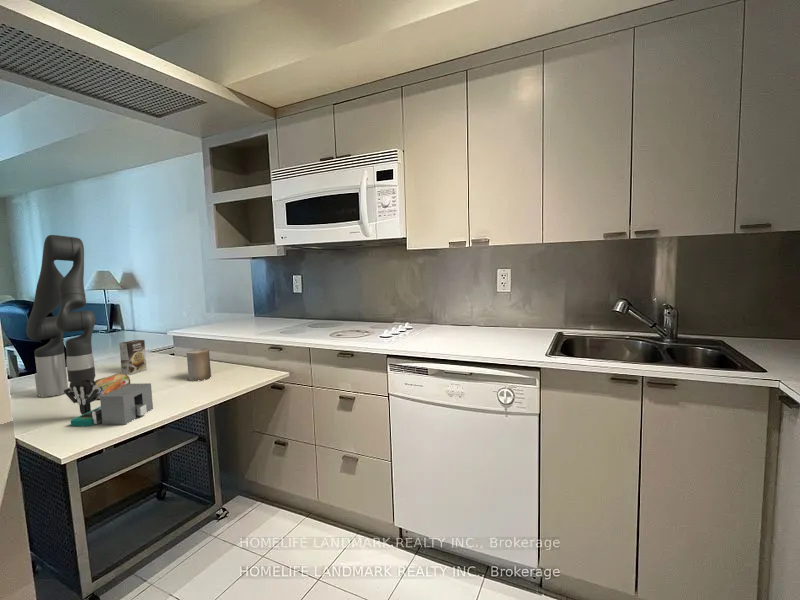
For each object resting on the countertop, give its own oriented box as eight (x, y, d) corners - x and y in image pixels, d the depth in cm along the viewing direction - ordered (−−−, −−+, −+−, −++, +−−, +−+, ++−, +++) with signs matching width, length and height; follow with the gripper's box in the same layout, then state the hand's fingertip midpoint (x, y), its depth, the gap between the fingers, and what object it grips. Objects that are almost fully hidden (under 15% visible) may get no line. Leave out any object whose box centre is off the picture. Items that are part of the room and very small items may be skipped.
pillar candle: (215, 376, 187) (213, 345, 186) (200, 382, 177) (198, 350, 176) (199, 375, 189) (196, 345, 188) (183, 381, 180) (181, 349, 179)
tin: (95, 402, 154) (93, 381, 153) (89, 401, 155) (87, 380, 154) (131, 390, 168) (130, 371, 167) (126, 389, 169) (124, 370, 168)
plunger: (93, 424, 131) (91, 411, 130) (137, 401, 152) (136, 391, 151) (129, 423, 130) (128, 411, 130) (168, 401, 151) (167, 390, 151)
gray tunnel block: (102, 424, 131) (99, 396, 130) (132, 409, 145) (130, 383, 144) (125, 424, 131) (122, 396, 130) (153, 409, 144) (150, 383, 144)
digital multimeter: (123, 410, 145) (122, 403, 144) (90, 427, 130) (89, 419, 130) (104, 411, 145) (103, 403, 145) (69, 427, 130) (68, 419, 130)
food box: (131, 375, 192) (128, 343, 190) (121, 374, 193) (118, 342, 192) (147, 370, 200) (145, 339, 199) (138, 369, 202) (135, 339, 201)
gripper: (107, 363, 140) (111, 409, 142) (72, 364, 140) (77, 409, 142) (90, 369, 132) (94, 417, 134) (53, 369, 133) (58, 418, 135)
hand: (85, 413), depth 138 cm, fingers closed
